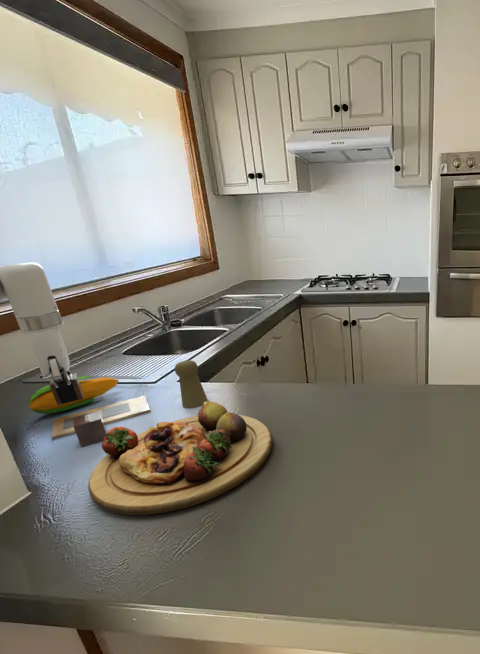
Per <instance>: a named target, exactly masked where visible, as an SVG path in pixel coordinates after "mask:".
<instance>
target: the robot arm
mask: <svg viewBox="0 0 480 654" xmlns="http://www.w3.org/2000/svg"><path fill="white" fill-rule="evenodd" d="M6 300H8V302H9V304H10V307H11V309H12V311H13V315H14V317H15V319H16V322H17V324H18V326H19V329H20V330H21V333H22V334H28V338H29V342H30V345H31V348H32V351H33V353H34V357H35V360H36V361H37V364H38V368H39V370H40V374H41V376H42V377H43V378H47V377H48V376H49V375H50V377H51V379H53V382H54V384H55V389H56V391H57V394H58V396H59V399H60V401H61V403H62V404H65V403H69V402H73V401H76V400H78V397H77V394H76V392H75V389H74V387H73V384H71V383H70V380H69V377H68V375H70V374H72V372H71V370H70V367H71V363H70V362H71V361H70V358H69V354H68V350H67V347H66V343H65V342H64V338H63V336H62V333H61V331H60V327H63V326H64V325H65V324H64V321H63V318H62V316H61V313H60V311H59V307H58V304H57V302H56V299H55V297H54V293H53V291H52V289H51V286H50V283H49V281H48V277H47V274H46V272H45V270H44V267H43V266H42V265H41V264H39V263H38V262H22V263H13V264H6V265H0V302H2V301H6ZM64 376H65V377H64Z"/></svg>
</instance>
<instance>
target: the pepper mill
mask: <svg viewBox="0 0 480 654" xmlns="http://www.w3.org/2000/svg"><path fill="white" fill-rule="evenodd" d="M198 371H199V366H198V364H197V363H196V361H195V360H191V359H188V360H182V361H179V362H177V363H176V364H175V365H174V372H175V374H176V376H177V377H178V379H179V389H180V395H181V396H180V397H181V405H182V408H184V409H194V408H195V409H196V408H199V407H202V404H203V403H204V402H208V401H209V400H208V397H207V394H206V391H205V390H204V387H203V385H202V382H201V379H200V378H199V375H198Z"/></svg>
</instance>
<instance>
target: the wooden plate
mask: <svg viewBox="0 0 480 654" xmlns="http://www.w3.org/2000/svg"><path fill="white" fill-rule="evenodd" d="M272 447H273V437H272V433H271V432H270V429H269V428H268V426H266V425H265V424H264V423H262V422H261V421H259V420H258V419H256V418H255V417H250V416H247V415H243V414H238V413H235V412H230V411H228V410H227V408H226V407H225V406H223V405H222V404H221V403H218V402H215V401H211V400H208V401H207V402H204V403H203V404H202V405H201V406H200V409H199V410H198V414H197V415H195V416H189V417H185V418H179V419H176V420H173V421H162V422H161V421H160V422H157V423H156V425H155V427H154V426H150V427H149V428H148V429H147V430H145V431H142V432H140V433H138V434H137V433H136V431H134V430H132V429H131V428H129V427H125V426H115V427H112V428H110V429H109V430H107V433H106V436H105V438H104V440H103V441H102V442H101V448H102V450H103V453H104V454H105V456H103V458H102V459H100V461H98V463H97V464H96V465H95V467H94V468H93V470H92V472H91V474H90V475H89V480H88V482H87V483H88V484H87V485H88V486H87V488H88V492H89V495H90V497H91V499H92V500H93V502H94V503H95V504H96V505H97V506H99V507H100V508H102V509H104V510H107V511H110V512H112V513H116V514H122V515H131V516H138V515H139V516H144V515H145V516H146V515H156V514H163V513H168V512H173V511H177V510H181V509H186V508H190V507H193V506H196V505H198V504H202V503H204V502H206V501H209V500H211V499H214V498H216V497H218V496H220V495H222V494H225V493H227V492H229V491H230V490H232V489H234V488H236V487H237V486H239V485H240V484H241V483H243V482H245V480H246V481H247V479H248V478H250V477H251V476H252V475H253V474H255V472H257V471H258V470H259V469H260V467H261V466H262V465H263V464H264V463H265V462H266V460H267V459H268V458H269V455H270V453H271V450H272Z"/></svg>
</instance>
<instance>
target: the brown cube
mask: <svg viewBox="0 0 480 654" xmlns="http://www.w3.org/2000/svg"><path fill="white" fill-rule="evenodd" d="M73 427H74V430H75V432H76V433H75V434H76V437H77V440H78V442H79V445H80V447H81V448H83V447H86V446H87V447H88V446H91V445H93V444H97V443H100V442H103V440H104V438H105V436H106V433H107V432H108V429H107V425H106V424H105V423H104V420H103V417H102V415H101V412H100V411H98V412H95V413H91V414H87V415H83V416H80V417H76V418H74V426H73Z"/></svg>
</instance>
